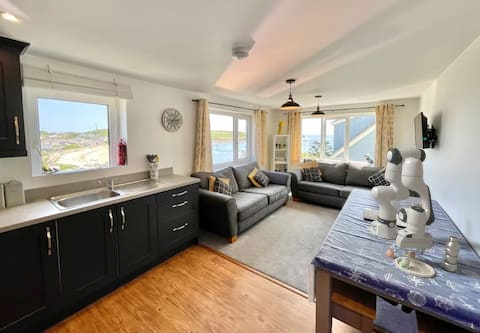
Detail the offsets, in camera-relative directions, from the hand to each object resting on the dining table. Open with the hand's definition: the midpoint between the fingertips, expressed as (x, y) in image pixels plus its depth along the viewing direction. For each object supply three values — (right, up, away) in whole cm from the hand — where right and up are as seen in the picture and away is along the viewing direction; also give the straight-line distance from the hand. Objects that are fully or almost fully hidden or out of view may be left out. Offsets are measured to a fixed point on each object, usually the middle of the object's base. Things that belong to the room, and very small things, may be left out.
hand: (412, 254), depth 138 cm
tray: (-6, -5, -9) cm, 12 cm away
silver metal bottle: (+14, -6, -9) cm, 17 cm away
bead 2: (-11, -4, -9) cm, 15 cm away
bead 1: (-12, -4, +3) cm, 13 cm away
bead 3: (0, -4, +1) cm, 4 cm away
